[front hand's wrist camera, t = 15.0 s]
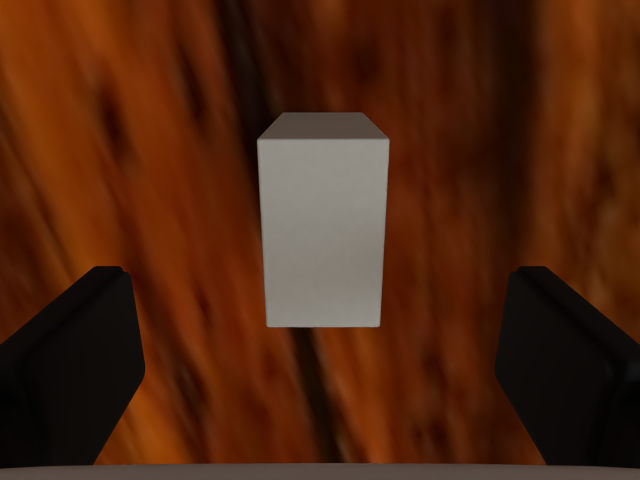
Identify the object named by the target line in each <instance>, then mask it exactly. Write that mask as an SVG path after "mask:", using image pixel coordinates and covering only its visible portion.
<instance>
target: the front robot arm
mask: <svg viewBox="0 0 640 480" xmlns="http://www.w3.org/2000/svg"><path fill="white" fill-rule="evenodd" d="M144 374H145V361H144V355H143V349H142V342H141V336H140V330H139V324H138V317H137V311H136V305H135V299H134V292H133V286H132V280H131V276H130V274H129V273H128V272H124V271H123V269H122V268H121V267H119V266H95V267H93V268H92V269H91V270H90V271H88V272H87V273H86V274H85V275H84V276H82V277H81V278H80V279H79V280H78V281H76V282H75V283H74V284H73V285H72V286H70V287H69V288H68V289H67V290H66V291H64V292H63V293H62V294H61V295H60V296H58V297H57V298H56V299H55V300H54V301H52V302H51V303H50V304H49V305H48V306H46V307H45V308H44V309H43V310H42V311H40V312H39V313H38V314H37V315H36V316H35V317H33V318H32V319H31V320H30V321H29V322H27V323H26V324H25V325H24V326H23V327H21V328H20V329H19V330H18V331H17V332H15V333H14V334H13V335H12V336H11V337H9V338H8V339H7V340H6V341H5V342H3V343H2V344H1V345H0V480H640V345H639V344H638V343H637V342H635V341H634V340H633V339H632V338H631V337H629V336H628V335H627V334H626V333H625V332H623V331H622V330H621V329H620V328H619V327H617V326H616V325H615V324H614V323H613V322H611V321H610V320H609V319H608V318H607V317H605V316H604V315H603V314H602V313H601V312H600V311H598V310H597V309H596V308H595V307H594V306H592V305H591V304H590V303H589V302H588V301H586V300H585V299H584V298H583V297H582V296H580V295H579V294H578V293H577V292H576V291H574V290H573V289H572V288H571V287H570V286H568V285H567V284H566V283H565V282H564V281H562V280H561V279H560V278H559V277H558V276H556V275H555V274H554V273H553V272H552V271H550V270H549V269H548V268H547V267H545V266H521V267H519V268H518V269H517V271H516V272H512V273H511V274H510V276H509V280H508V286H507V292H506V299H505V305H504V311H503V317H502V324H501V330H500V336H499V342H498V349H497V355H496V361H495V374H496V378H497V380H498V382H499V384H500V385H501V387H502V389H503V390H504V392H505V394H506V396H507V397H508V399H509V401H510V402H511V404H512V406H513V408H514V409H515V411H516V413H517V414H518V416H519V418H520V419H521V421H522V423H523V425H524V426H525V428H526V430H527V431H528V433H529V435H530V436H531V438H532V440H533V442H534V443H535V445H536V447H537V448H538V450H539V452H540V454H541V455H542V457H543V459H544V460H545V462H546V464H547V465H498V464H349V463H291V464H142V465H93V464H94V462H95V460H96V459H97V457H98V455H99V454H100V452H101V450H102V448H103V447H104V445H105V443H106V442H107V440H108V438H109V436H110V435H111V433H112V431H113V430H114V428H115V426H116V425H117V423H118V421H119V419H120V418H121V416H122V414H123V413H124V411H125V409H126V408H127V406H128V404H129V402H130V401H131V399H132V397H133V396H134V394H135V392H136V390H137V389H138V387H139V385H140V384H141V382H142V380H143V378H144Z"/></svg>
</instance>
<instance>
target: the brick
mask: <svg viewBox="0 0 640 480" xmlns="http://www.w3.org/2000/svg"><path fill="white" fill-rule="evenodd" d="M389 142H390V141H389V139H388V138H387V137H386V136H385V135H384V134H383V133H382V132H381V131H380V130H379V129H378V128H377V127H376V126H375V125H374V124H373V123H372V122H371V121H370V120H369V119H368V118H367V117H366V116H365V115H364V114H363V113H362V112H331V113H282V114H281V115H280V116H279V117H278V118H277V119H276V120H275V121H274V122H273V124H272V125H271V126H270V127H269V128H268V129H267V130H266V131H265V132H264V133H263V134H262V135H261V136H260V137H259V138H258V140H257V151H258V170H259V190H260V209H261V228H262V248H263V267H264V287H265V306H266V325H267V327H379V326H380V313H381V294H382V275H383V256H384V237H385V218H386V199H387V180H388V161H389Z"/></svg>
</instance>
